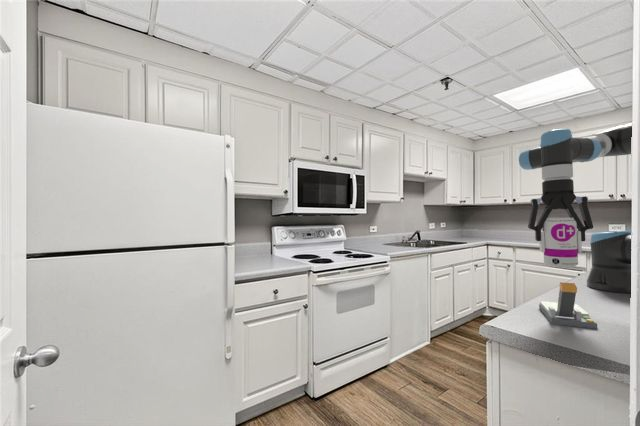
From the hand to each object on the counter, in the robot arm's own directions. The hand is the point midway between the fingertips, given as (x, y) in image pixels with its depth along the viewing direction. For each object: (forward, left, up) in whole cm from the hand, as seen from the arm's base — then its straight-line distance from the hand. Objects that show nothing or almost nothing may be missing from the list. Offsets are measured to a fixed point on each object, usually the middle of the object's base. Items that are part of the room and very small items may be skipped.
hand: (560, 251), depth 88 cm
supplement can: (0, 0, -4) cm, 4 cm away
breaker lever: (+1, +7, -17) cm, 19 cm away
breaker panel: (0, +2, -20) cm, 20 cm away
